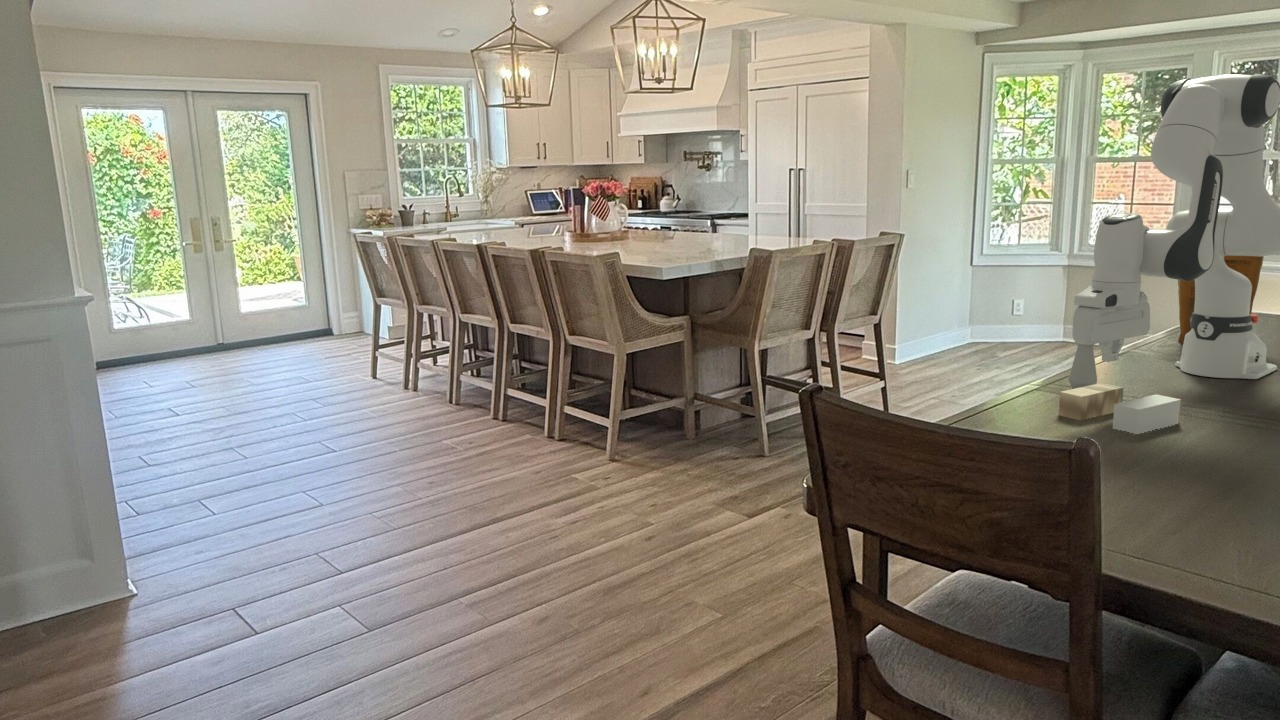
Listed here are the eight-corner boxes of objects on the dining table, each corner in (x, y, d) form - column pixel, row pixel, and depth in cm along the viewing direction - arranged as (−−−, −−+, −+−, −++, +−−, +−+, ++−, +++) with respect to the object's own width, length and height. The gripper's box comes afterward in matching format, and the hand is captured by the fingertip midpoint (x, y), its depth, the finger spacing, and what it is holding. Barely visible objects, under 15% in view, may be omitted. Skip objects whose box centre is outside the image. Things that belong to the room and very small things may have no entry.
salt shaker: (1099, 393, 198) (1103, 336, 196) (1071, 393, 200) (1075, 336, 197) (1092, 387, 204) (1096, 331, 201) (1065, 386, 205) (1068, 331, 202)
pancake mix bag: (1253, 351, 234) (1265, 244, 228) (1170, 344, 245) (1179, 243, 240) (1255, 346, 239) (1266, 242, 233) (1173, 340, 251) (1182, 241, 245)
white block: (1156, 394, 177) (1114, 403, 172) (1181, 399, 173) (1139, 409, 167) (1154, 418, 178) (1112, 428, 173) (1179, 424, 174) (1136, 435, 168)
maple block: (1101, 382, 188) (1060, 391, 182) (1123, 387, 183) (1081, 396, 178) (1099, 405, 189) (1058, 415, 183) (1121, 410, 184) (1080, 420, 179)
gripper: (1132, 288, 188) (1127, 352, 191) (1068, 297, 179) (1064, 364, 182) (1161, 291, 183) (1155, 357, 186) (1097, 300, 174) (1092, 369, 176)
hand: (1109, 360), depth 184 cm, fingers closed
